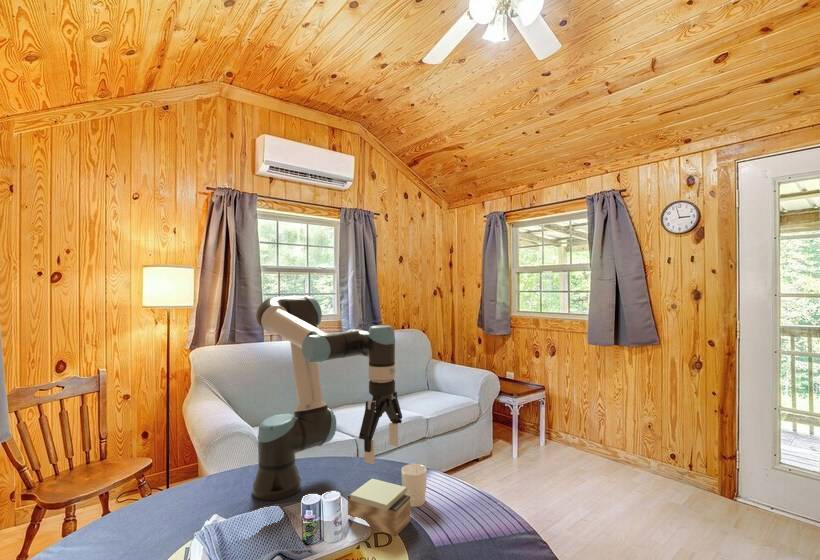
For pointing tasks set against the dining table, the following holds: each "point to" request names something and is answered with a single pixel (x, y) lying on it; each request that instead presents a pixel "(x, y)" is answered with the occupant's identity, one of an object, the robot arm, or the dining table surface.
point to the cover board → (378, 494)
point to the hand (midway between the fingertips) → (382, 453)
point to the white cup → (414, 483)
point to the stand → (383, 515)
